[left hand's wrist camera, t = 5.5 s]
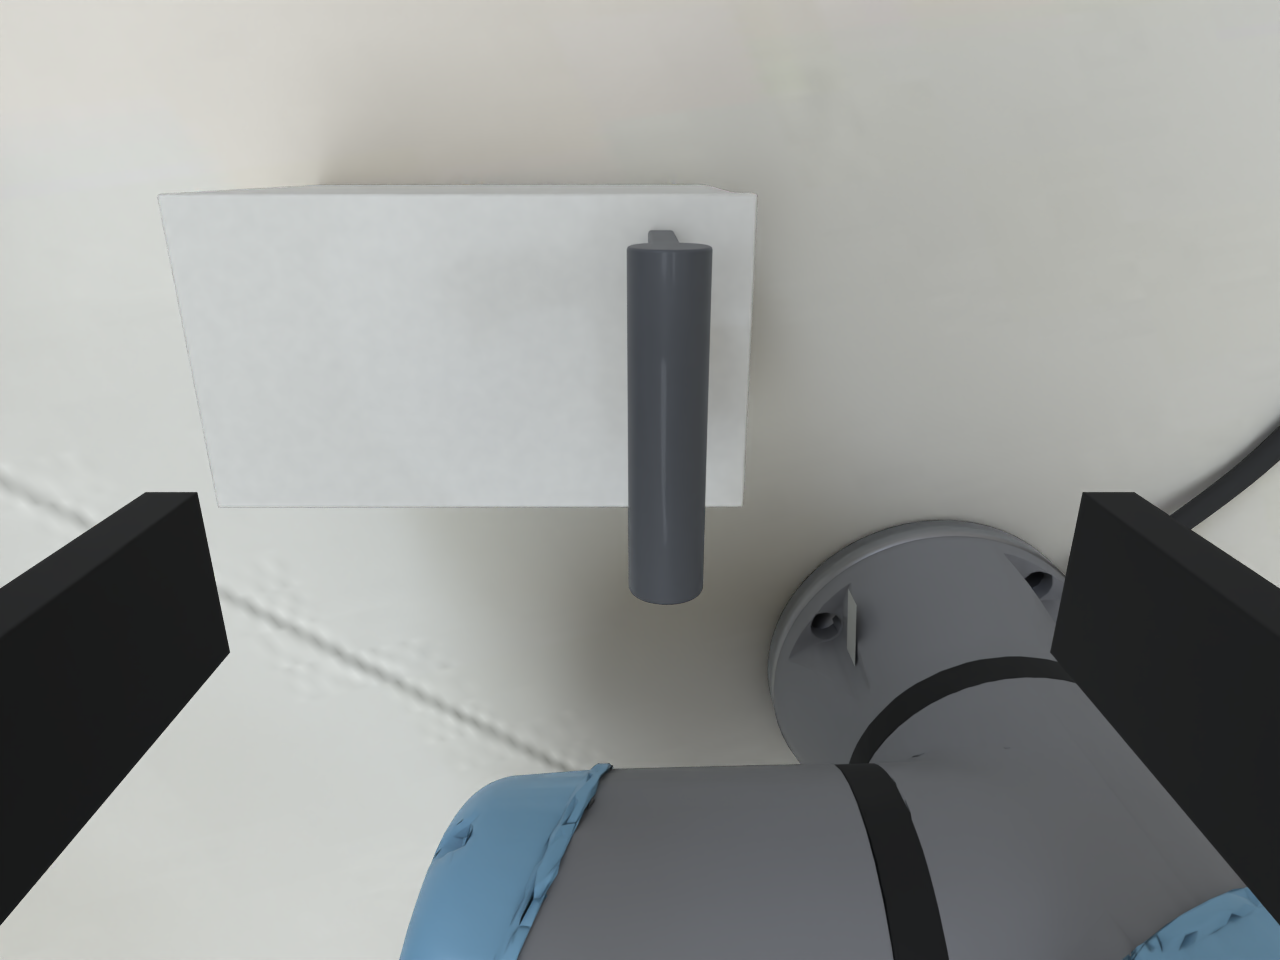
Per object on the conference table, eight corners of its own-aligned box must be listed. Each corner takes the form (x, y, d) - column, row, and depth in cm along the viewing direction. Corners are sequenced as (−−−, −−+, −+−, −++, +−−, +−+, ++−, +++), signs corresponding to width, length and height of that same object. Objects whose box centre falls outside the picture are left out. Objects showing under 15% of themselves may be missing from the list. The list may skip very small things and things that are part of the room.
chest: (706, 184, 33) (736, 192, 23) (701, 403, 36) (725, 495, 26) (316, 184, 33) (175, 192, 23) (345, 404, 36) (232, 496, 26)
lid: (753, 192, 23) (813, 205, 15) (739, 495, 26) (783, 636, 18) (174, 192, 23) (-67, 206, 15) (232, 496, 26) (58, 637, 18)
